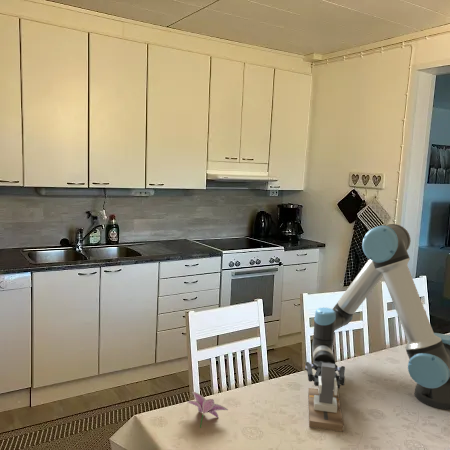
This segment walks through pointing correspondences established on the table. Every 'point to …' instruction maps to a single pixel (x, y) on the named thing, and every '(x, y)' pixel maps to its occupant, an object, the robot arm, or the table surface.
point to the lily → (206, 405)
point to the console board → (324, 414)
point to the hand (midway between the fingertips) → (328, 390)
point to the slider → (326, 390)
